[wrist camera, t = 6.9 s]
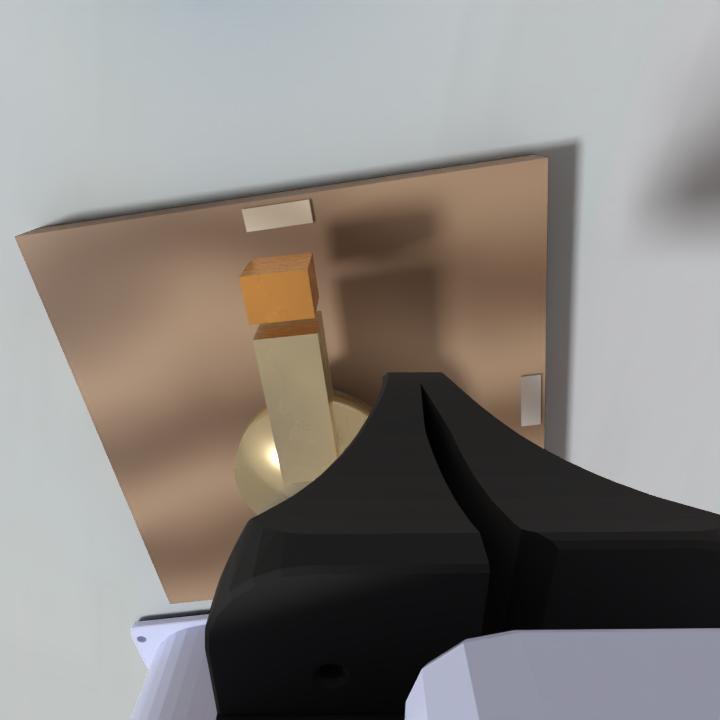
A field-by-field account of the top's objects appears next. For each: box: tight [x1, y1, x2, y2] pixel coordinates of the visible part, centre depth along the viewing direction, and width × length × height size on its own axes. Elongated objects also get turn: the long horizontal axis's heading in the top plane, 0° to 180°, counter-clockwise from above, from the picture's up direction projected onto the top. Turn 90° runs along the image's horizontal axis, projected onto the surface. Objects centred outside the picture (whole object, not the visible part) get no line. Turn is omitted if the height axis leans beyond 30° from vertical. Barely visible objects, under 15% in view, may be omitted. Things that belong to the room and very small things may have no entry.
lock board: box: [15, 154, 548, 604], centre depth 22 cm, size 19×19×4 cm
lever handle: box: [234, 252, 372, 515], centre depth 18 cm, size 11×6×2 cm, turn 6°
